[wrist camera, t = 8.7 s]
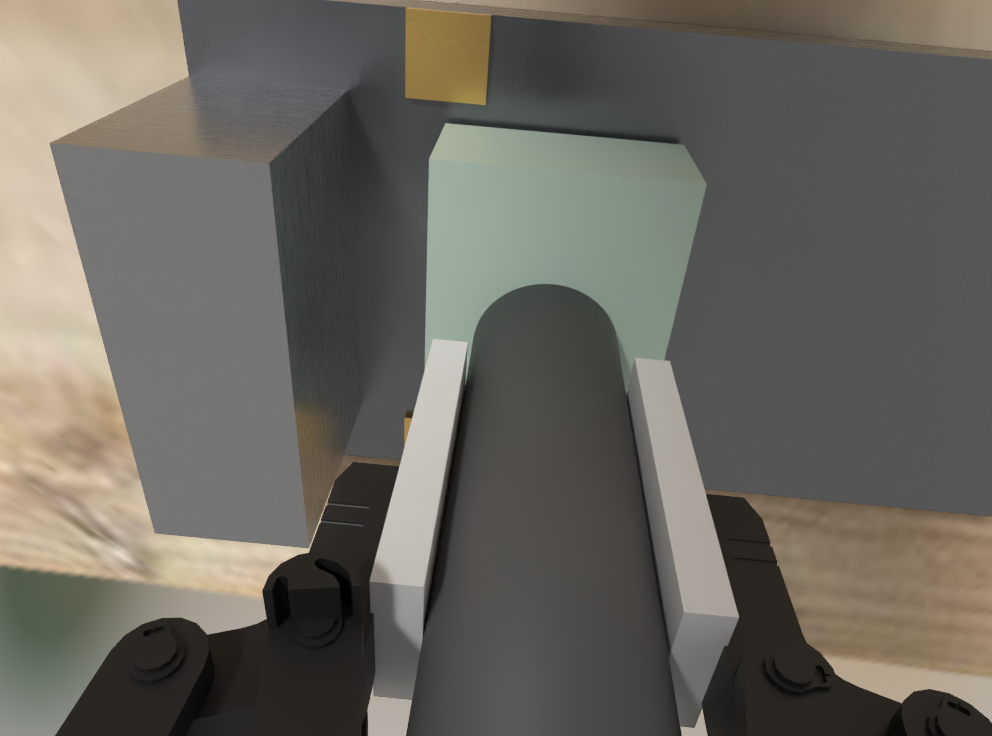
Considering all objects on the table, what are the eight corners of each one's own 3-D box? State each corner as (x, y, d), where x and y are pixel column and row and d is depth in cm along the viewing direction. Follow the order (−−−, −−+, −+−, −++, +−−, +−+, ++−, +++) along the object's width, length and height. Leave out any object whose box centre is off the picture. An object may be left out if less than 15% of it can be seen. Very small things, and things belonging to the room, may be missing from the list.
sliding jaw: (436, 410, 23) (278, 1131, 9) (445, 123, 18) (140, 781, 4) (622, 427, 23) (732, 1178, 9) (683, 144, 18) (1106, 877, 4)
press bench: (260, 418, 26) (168, 584, 19) (201, -19, 18) (17, 21, 12) (981, 487, 25) (1123, 678, 19) (1231, 72, 18) (1606, 164, 11)
